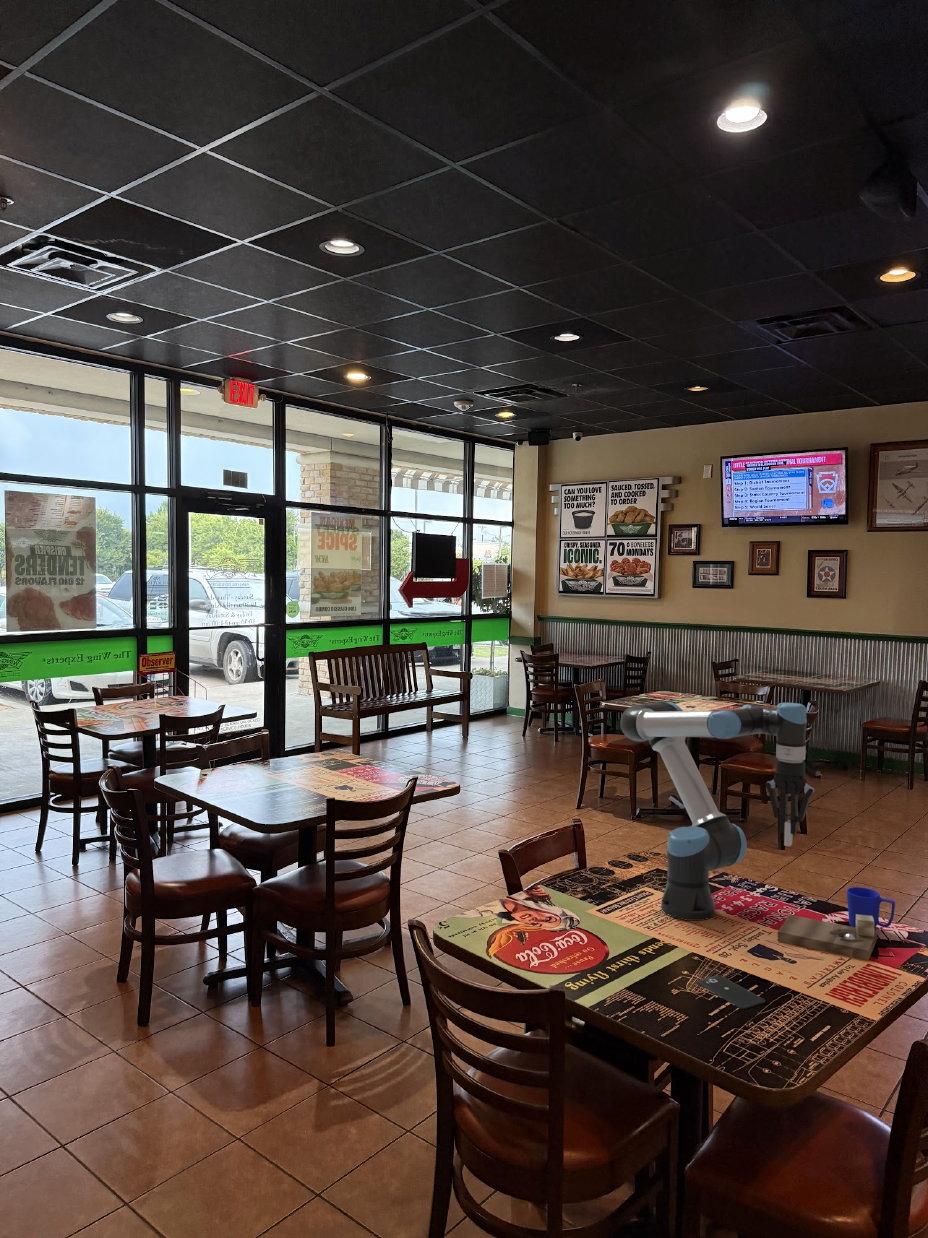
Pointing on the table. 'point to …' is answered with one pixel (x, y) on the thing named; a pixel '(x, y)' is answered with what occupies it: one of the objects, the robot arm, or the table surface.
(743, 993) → the smartphone
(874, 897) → the mug
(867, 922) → the maple cube
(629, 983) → the table surface
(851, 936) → the ball
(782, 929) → the deck
